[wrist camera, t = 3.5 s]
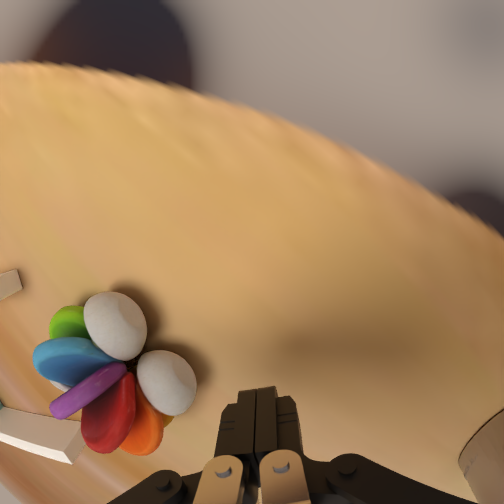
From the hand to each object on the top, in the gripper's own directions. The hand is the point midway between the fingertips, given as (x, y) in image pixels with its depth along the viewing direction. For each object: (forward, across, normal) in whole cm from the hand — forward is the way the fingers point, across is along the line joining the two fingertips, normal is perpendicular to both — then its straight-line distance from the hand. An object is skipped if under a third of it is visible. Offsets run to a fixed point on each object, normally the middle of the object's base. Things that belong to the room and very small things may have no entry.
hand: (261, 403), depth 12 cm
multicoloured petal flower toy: (+6, +9, 0) cm, 11 cm away
